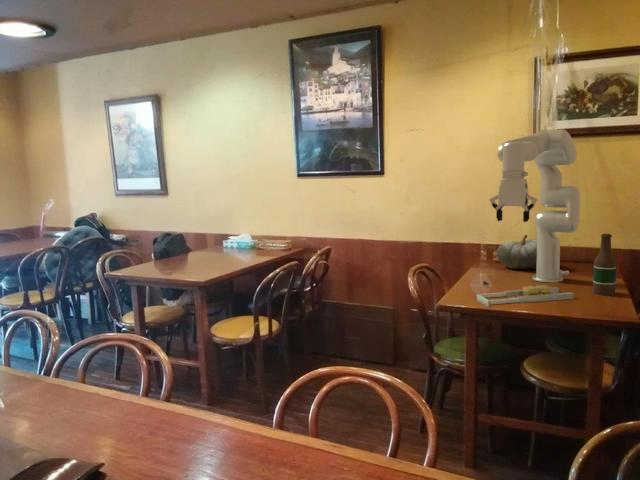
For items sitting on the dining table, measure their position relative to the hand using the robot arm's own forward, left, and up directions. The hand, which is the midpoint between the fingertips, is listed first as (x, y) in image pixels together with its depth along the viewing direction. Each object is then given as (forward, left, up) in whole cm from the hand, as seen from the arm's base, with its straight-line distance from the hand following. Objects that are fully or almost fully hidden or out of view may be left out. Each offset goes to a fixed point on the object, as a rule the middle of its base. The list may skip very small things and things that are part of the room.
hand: (512, 221), depth 183 cm
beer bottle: (-40, -1, -31) cm, 51 cm away
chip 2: (-13, 0, -30) cm, 33 cm away
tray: (+6, 0, -31) cm, 32 cm away
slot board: (-11, 0, -31) cm, 33 cm away
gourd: (-39, -58, -32) cm, 77 cm away
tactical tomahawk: (-2, -21, -32) cm, 38 cm away
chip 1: (-8, 0, -30) cm, 31 cm away
